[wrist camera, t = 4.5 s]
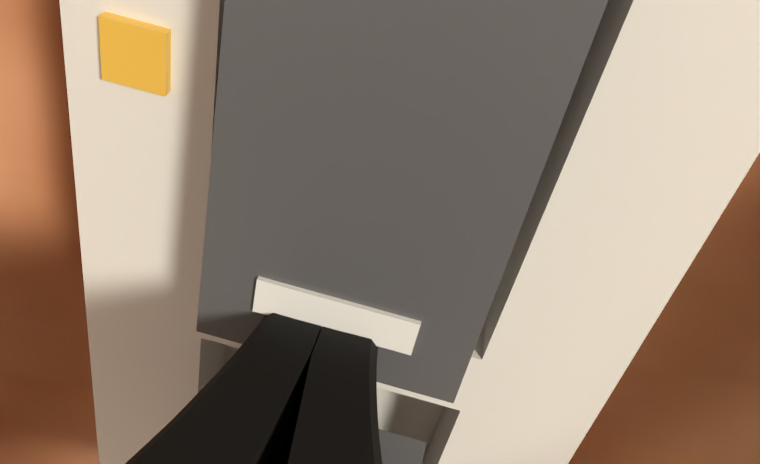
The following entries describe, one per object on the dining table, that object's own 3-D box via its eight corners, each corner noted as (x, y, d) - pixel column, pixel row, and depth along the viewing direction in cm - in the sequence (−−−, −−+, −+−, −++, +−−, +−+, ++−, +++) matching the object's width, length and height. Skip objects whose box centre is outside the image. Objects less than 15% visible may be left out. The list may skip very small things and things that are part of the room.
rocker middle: (627, -123, 7) (649, -101, 6) (462, 332, 10) (453, 407, 9) (289, -210, 7) (239, -205, 6) (233, 268, 10) (194, 334, 9)
